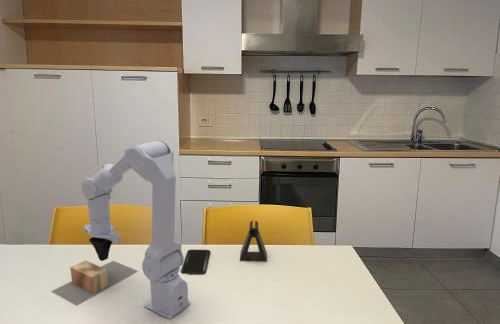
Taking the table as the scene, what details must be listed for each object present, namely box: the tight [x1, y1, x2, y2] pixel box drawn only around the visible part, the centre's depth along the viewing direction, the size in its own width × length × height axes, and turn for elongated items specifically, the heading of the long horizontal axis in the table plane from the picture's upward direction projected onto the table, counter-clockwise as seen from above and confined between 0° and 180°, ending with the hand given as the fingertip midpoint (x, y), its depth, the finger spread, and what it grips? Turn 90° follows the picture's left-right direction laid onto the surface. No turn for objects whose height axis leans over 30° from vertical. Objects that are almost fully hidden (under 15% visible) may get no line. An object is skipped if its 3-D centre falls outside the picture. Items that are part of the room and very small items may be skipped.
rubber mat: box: [51, 260, 139, 307], centre depth 112 cm, size 12×21×1 cm, turn 148°
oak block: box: [69, 260, 108, 294], centre depth 109 cm, size 10×5×5 cm
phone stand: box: [239, 220, 268, 263], centre depth 126 cm, size 9×6×12 cm, turn 88°
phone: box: [180, 249, 211, 276], centre depth 123 cm, size 8×1×15 cm
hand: (103, 259), depth 113 cm, fingers closed
